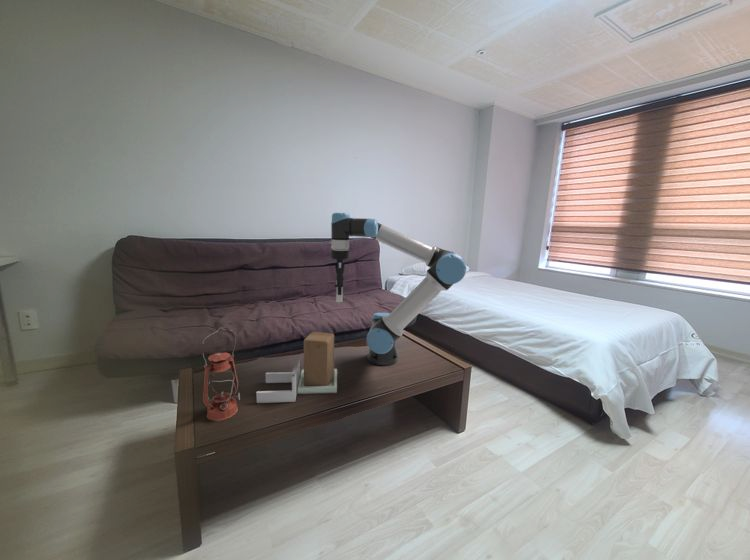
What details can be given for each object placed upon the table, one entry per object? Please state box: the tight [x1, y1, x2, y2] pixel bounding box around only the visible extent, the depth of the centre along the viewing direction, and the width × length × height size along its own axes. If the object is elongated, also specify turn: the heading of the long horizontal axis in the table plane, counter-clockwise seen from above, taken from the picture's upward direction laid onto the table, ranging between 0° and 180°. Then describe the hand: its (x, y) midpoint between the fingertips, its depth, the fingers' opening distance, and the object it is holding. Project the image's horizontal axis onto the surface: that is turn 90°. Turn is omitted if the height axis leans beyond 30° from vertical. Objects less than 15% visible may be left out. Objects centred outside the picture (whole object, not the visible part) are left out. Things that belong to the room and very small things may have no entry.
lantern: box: [202, 327, 241, 422], centre depth 101 cm, size 10×10×30 cm
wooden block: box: [303, 331, 335, 387], centre depth 122 cm, size 10×10×20 cm
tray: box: [297, 368, 338, 395], centre depth 124 cm, size 15×15×2 cm
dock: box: [255, 356, 301, 404], centre depth 117 cm, size 14×15×11 cm
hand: (339, 298), depth 133 cm, fingers open, 13 cm apart
